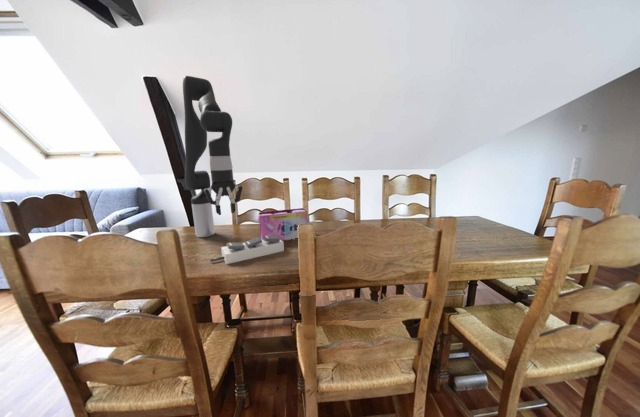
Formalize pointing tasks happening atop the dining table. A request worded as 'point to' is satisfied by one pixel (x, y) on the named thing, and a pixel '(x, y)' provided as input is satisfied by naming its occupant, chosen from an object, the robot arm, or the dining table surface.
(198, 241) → the dining table surface
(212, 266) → the dining table surface
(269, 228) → the gum box
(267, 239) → the rocker
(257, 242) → the rocker
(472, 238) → the dining table surface
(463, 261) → the dining table surface
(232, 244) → the rocker
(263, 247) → the power strip
